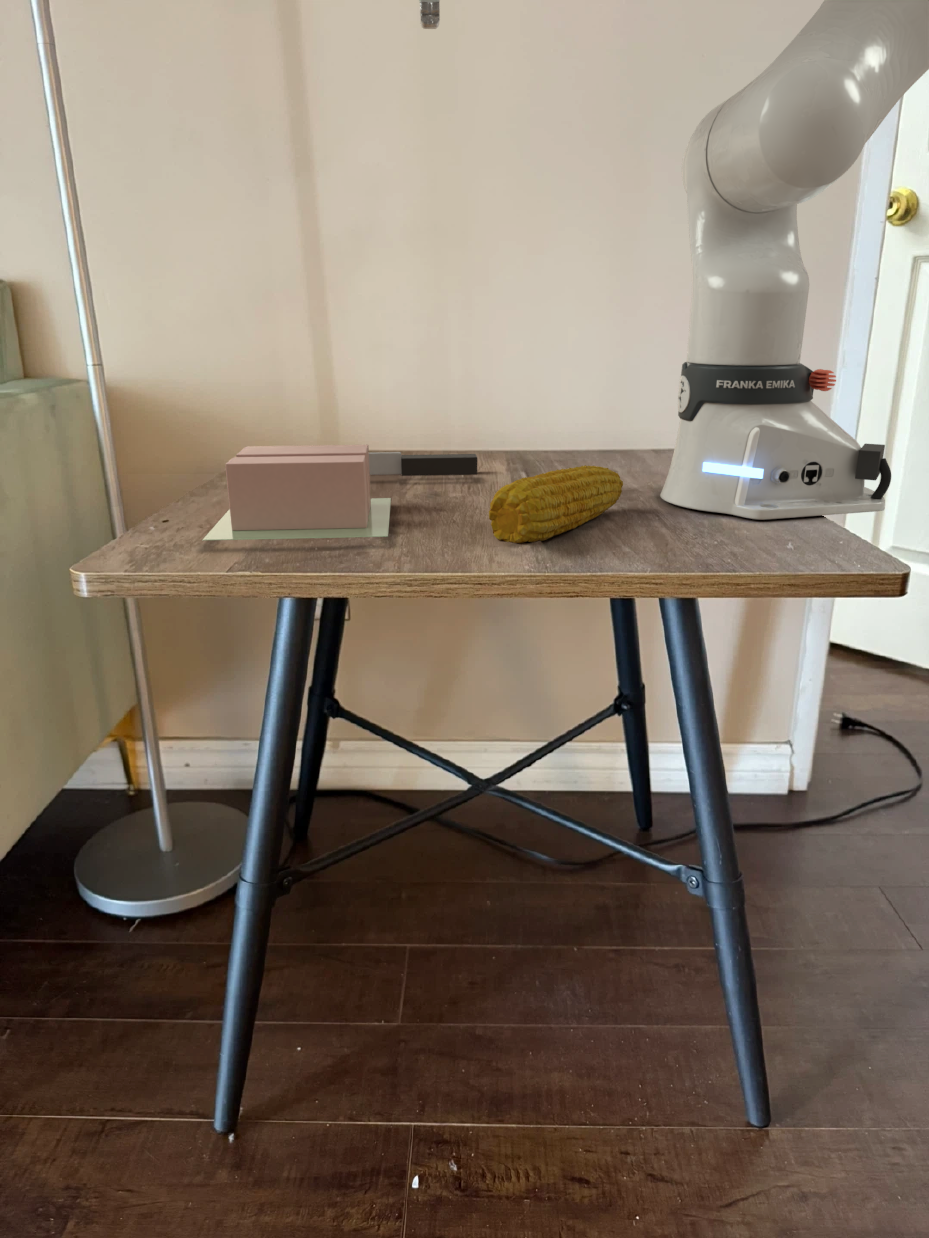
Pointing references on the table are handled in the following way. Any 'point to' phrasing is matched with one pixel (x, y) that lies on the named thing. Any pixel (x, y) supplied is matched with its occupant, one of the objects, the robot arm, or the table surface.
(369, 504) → the pink rectangular block
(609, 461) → the table surface
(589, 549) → the table surface
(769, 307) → the robot arm
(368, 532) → the plate
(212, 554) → the table surface
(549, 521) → the food
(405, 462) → the knife
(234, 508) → the dusty pink brick
